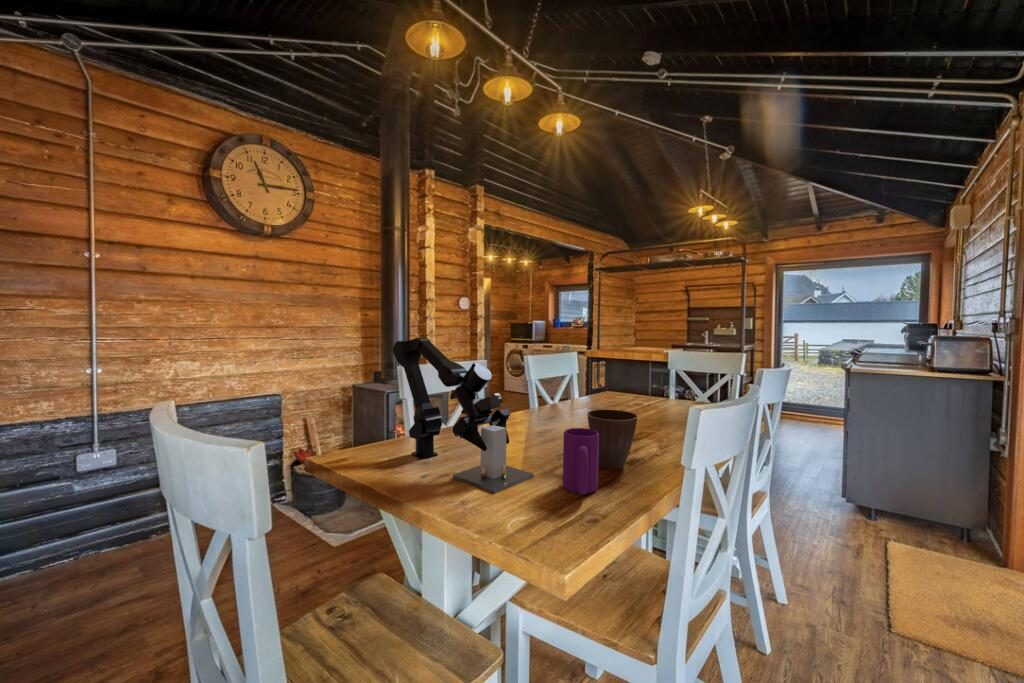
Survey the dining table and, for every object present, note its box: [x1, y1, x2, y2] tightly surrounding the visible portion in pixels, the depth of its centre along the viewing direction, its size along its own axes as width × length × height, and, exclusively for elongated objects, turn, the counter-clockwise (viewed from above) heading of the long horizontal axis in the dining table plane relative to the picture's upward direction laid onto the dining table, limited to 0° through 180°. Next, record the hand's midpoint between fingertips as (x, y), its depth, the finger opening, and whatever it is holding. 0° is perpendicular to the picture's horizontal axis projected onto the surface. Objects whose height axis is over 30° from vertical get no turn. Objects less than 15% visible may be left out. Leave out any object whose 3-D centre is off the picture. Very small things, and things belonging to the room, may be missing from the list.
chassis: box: [452, 464, 534, 494], centre depth 122 cm, size 16×16×4 cm
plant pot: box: [587, 409, 639, 471], centre depth 133 cm, size 15×15×16 cm
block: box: [480, 425, 508, 479], centre depth 122 cm, size 5×5×13 cm
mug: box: [562, 427, 599, 495], centre depth 112 cm, size 9×16×15 cm, turn 176°
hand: (497, 446), depth 121 cm, fingers open, 9 cm apart
